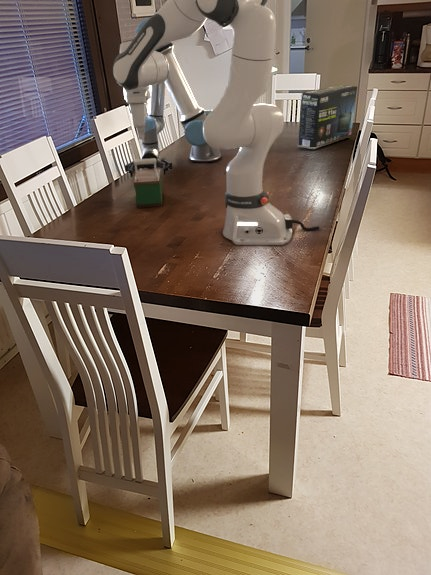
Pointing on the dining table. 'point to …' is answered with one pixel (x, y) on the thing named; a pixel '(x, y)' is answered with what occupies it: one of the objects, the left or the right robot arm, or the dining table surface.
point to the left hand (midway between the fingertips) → (147, 172)
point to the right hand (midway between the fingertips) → (142, 135)
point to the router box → (326, 115)
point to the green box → (149, 195)
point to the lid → (146, 173)
